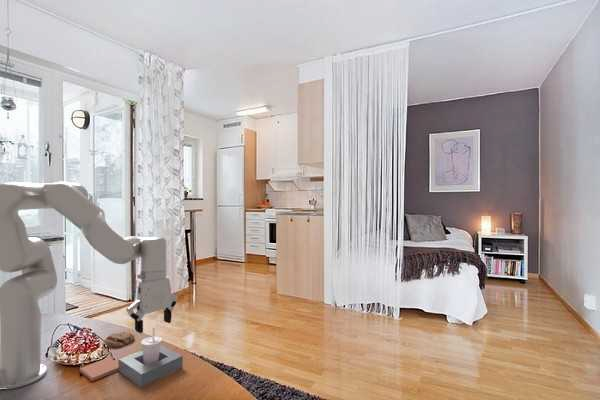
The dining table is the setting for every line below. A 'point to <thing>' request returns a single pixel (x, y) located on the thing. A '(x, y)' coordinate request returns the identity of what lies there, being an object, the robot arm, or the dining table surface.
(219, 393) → the dining table surface
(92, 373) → the pad
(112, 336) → the cookie
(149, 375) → the box
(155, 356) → the smoothie
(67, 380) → the dining table surface
